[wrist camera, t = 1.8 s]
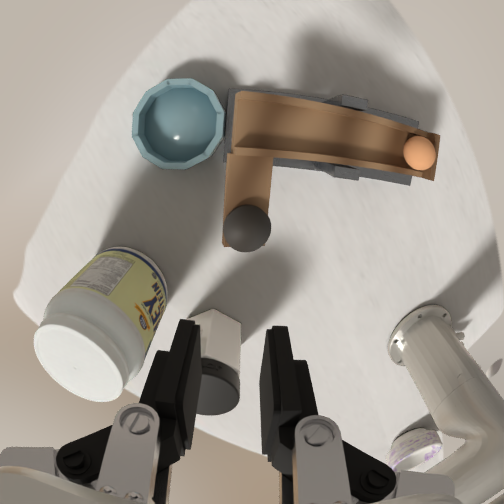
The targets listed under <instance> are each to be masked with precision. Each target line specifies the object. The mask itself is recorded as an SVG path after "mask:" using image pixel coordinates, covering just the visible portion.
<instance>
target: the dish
mask: <svg viewBox="0 0 504 504" xmlns="http://www.w3.org/2000/svg"><path fill="white" fill-rule="evenodd" d="M225 125H226V112H225V110H224V108H223V106H222V104H221V102H220V101H219V99H218V97H217V95H216V93H215V92H214V91H213V90H211V89H210V88H208V87H206V86H204V85H203V84H201V83H199V82H197V81H196V80H194V79H192V78H185V79H166V80H165V81H163V82H161V83H160V84H158V85H156V86H154V87H153V88H151V89H149V90H148V91H146V92H145V94H144V95H143V97H142V99H141V100H140V102H139V104H138V105H137V107H136V109H135V110H134V112H133V123H132V138H133V139H134V141H135V143H136V145H137V147H138V149H139V151H140V153H141V155H142V157H144V158H145V159H147V160H148V161H150V162H152V163H153V164H155V165H156V166H158V167H160V168H161V169H185V170H186V169H188V168H190V167H192V166H194V165H195V164H197V163H199V162H201V161H203V160H205V159H207V158H209V157H210V156H212V154H213V153H214V151H215V150H216V148H217V147H218V146H219V144H220V143H221V141H222V140H223V138H224V136H225Z"/></svg>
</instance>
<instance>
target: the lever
mask: <svg viewBox="0 0 504 504" xmlns="http://www.w3.org/2000/svg"><path fill="white" fill-rule="evenodd" d="M414 136H422V137H425V138H427V139H428V140H429V141H430V142H431V143H432V144H433V146H434V148H435V152H436V158H435V161H434V163H433V165H432V166H431V167H430V168H428V169H426V170H416V169H414V168H412V167H411V166H410V165H409V164H408V163H407V162H406V160H405V158H404V154H403V149H404V145H405V143H406V142H407V141H408V140H409V139H410V138H412V137H414ZM439 142H440V135H438V134H434V133H428V132H425V131H422V130H420V129H417V128H414V127H411V126H408V125H405V124H402V123H398V122H395V121H392V120H389V119H385V118H382V117H378V116H375V115H371V114H368V113H364V112H360V111H356V110H352V109H348V108H344V107H339V106H335V105H330V104H325V103H321V102H316V101H310V100H305V99H299V98H293V97H287V96H280V95H273V94H266V93H258V92H249V91H240V92H238V93H236V94H235V106H234V118H233V131H232V145H231V153H227V164H226V180H225V197H224V215H223V235H222V243H223V245H224V247H232V248H233V249H235V250H237V251H240V252H251V251H255V250H257V249H259V248H260V247H261V246H265V243H266V241H267V240H268V238H269V236H270V233H271V222H270V219H269V217H268V208H269V198H270V188H271V177H272V167H273V157H275V158H288V159H299V160H309V161H319V162H327V163H336V164H343V165H351V166H358V167H365V168H371V169H378V170H384V171H390V172H395V173H401V174H406V175H412V176H417V177H422V178H425V179H428V180H432V181H434V177H435V171H436V165H437V158H438V150H439Z"/></svg>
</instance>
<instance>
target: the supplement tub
mask: <svg viewBox="0 0 504 504" xmlns="http://www.w3.org/2000/svg"><path fill="white" fill-rule="evenodd" d="M167 302H168V289H167V284H166V281H165V278H164V276H163V274H162V272H161V271H160V269H159V268H158V266H157V265H156V264H155V263H154V262H153V261H152V260H151V259H150V258H149V257H147V256H146V255H145V254H143V253H141V252H139V251H137V250H134V249H131V248H127V247H112V248H108V249H105V250H103V251H101V252H100V253H98V254H97V255H96V256H95V257H94V258H93V259H92V260H91V261H90V262H89V263H88V264H87V265H85V266H84V267H83V268H82V269H81V270H80V271H79V272H78V273H77V274H76V275H75V276H74V277H73V278H72V279H71V280H70V281H69V282H68V283H67V284H66V285H65V286H64V287H63V288H62V289H61V290H60V291H59V292H58V293H57V294H56V295H55V296H54V297H53V298H52V299H51V301H50V302H49V304H48V305H47V307H46V310H45V313H44V318H43V321H42V322H41V324H40V327H39V328H38V330H37V331H36V333H35V336H34V348H35V352H36V355H37V357H38V359H39V361H40V363H41V364H42V366H43V367H44V369H45V370H46V371H47V372H48V373H49V375H50V376H51V377H52V378H53V379H54V380H55V381H57V382H58V383H59V384H60V385H61V386H63V387H64V388H65V389H67V390H68V391H70V392H72V393H73V394H75V395H77V396H80V397H82V398H85V399H88V400H91V401H97V402H106V401H111V400H114V399H116V398H117V397H119V396H120V394H121V392H122V390H123V388H124V387H125V386H126V384H127V383H128V382H129V381H130V380H132V379H133V378H134V377H135V376H136V375H137V374H138V373H139V371H140V370H141V368H142V366H143V363H144V360H145V357H146V355H147V352H148V350H149V347H150V345H151V342H152V340H153V337H154V335H155V332H156V330H157V328H158V325H159V323H160V320H161V318H162V316H163V313H164V311H165V309H166V306H167Z"/></svg>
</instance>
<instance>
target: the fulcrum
mask: <svg viewBox="0 0 504 504" xmlns="http://www.w3.org/2000/svg"><path fill="white" fill-rule="evenodd" d="M240 91H249V92H258V93H266V94H273V95H280V96H287V97H293V98H299V99H305V100H310V101H316V102H321V103H325V104H330V105H335V106H339V107H344V108H348V109H352V110H356V111H360V112H364V113H368V114H371V115H375V116H378V117H382V118H385V119H389V120H392V121H395V122H398V123H402V124H405V125H408V126H411V127H414V128H417V129H418V124H419V121H416V120H413V119H409V118H406V117H402V116H399V115H395V114H391V113H388V112H384V111H380V110H376V109H372V108H367V103H368V100H366V99H362V98H357V97H353V96H348V95H340V96H337V97H334V98H332V99H329V100H328V99H322V98H316V97H310V96H303V95H295V94H287V93H279V92H269V91H258V90H244V89H229V94H228V106H227V118H226V132H225V146H224V160H223V162H227V153H231V145H232V131H233V118H234V106H235V94H236V93H238V92H240ZM273 166H280V167H290V168H299V169H308V170H316V171H324V172H326V173H327V174H329V175H331V176H333V177H337V178H344V179H351V180H359V177H365V178H371V179H377V180H383V181H388V182H394V183H399V184H404V185H409V186H410V184H411V178H412V175H406V174H401V173H395V172H390V171H384V170H378V169H371V168H365V167H358V166H351V165H343V164H336V163H327V162H319V161H309V160H299V159H288V158H275V157H273Z"/></svg>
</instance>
